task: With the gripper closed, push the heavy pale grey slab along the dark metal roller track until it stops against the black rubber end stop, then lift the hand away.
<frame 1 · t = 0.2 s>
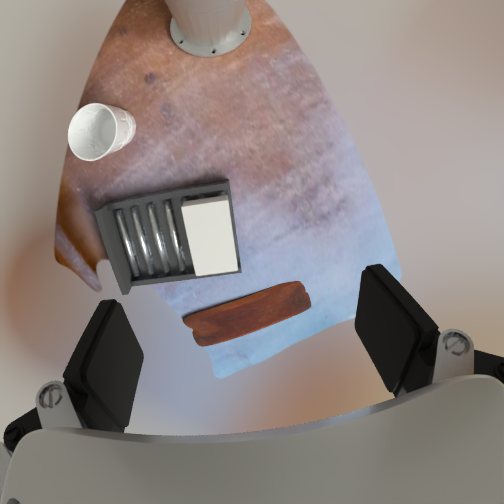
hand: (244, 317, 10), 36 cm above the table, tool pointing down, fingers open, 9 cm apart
white cup: (118, 128, 37), on the table
slab: (211, 236, 43), point 4 cm above the table, slide at 0.0 cm
wooden tablet: (247, 313, 57), on the table
roller track: (172, 234, 46), on the table
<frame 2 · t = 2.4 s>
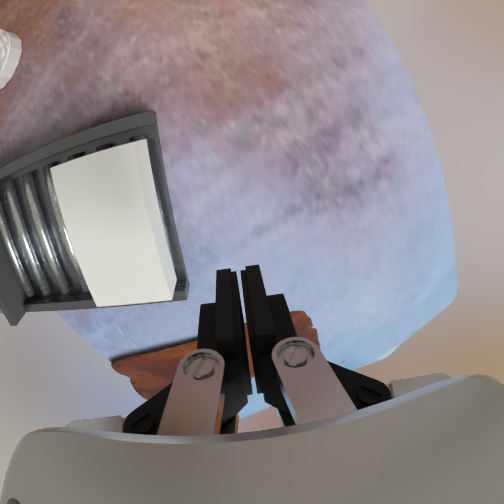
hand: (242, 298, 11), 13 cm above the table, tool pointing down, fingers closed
white cup: (3, 63, 12), on the table
slab: (114, 228, 19), point 4 cm above the table, slide at 0.0 cm
wooden tablet: (212, 360, 32), on the table
roller track: (67, 226, 22), on the table
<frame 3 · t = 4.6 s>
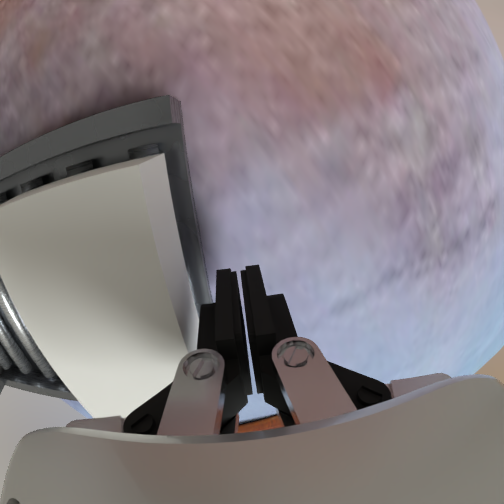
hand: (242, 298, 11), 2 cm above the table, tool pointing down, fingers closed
slab: (110, 325, 10), point 3 cm above the table, slide at 0.0 cm, touching gripper
wooden tablet: (246, 437, 23), on the table
roller track: (38, 290, 13), on the table
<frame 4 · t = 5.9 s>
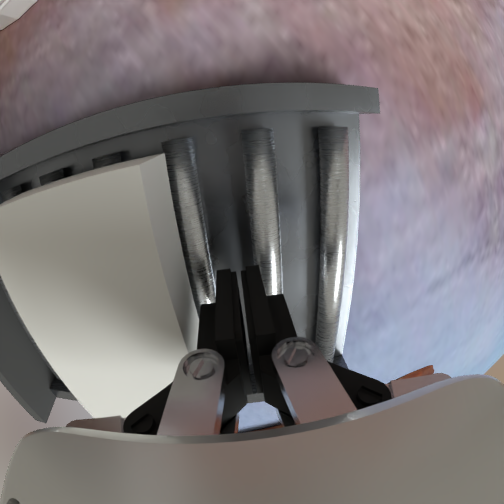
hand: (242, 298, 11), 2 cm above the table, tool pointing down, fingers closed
slab: (110, 325, 10), point 3 cm above the table, slide at 7.4 cm, touching gripper
roller track: (137, 280, 13), on the table
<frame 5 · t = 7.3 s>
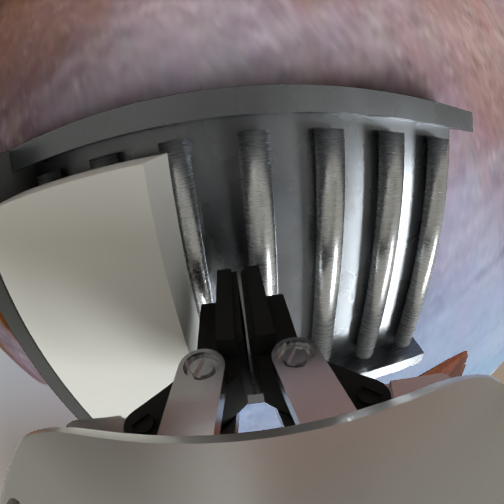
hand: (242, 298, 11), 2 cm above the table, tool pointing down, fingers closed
slab: (110, 324, 10), point 3 cm above the table, slide at 13.1 cm, touching gripper
wooden tablet: (366, 414, 23), on the table
roller track: (250, 268, 13), on the table
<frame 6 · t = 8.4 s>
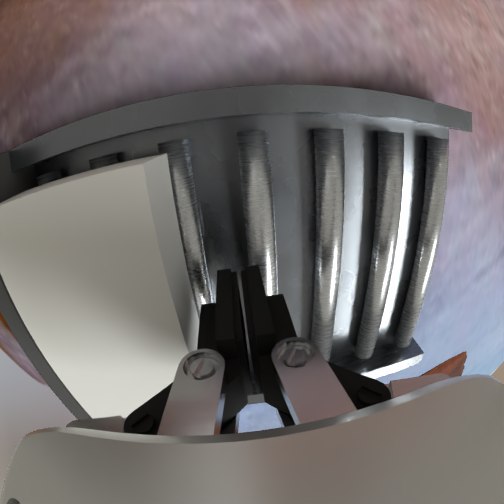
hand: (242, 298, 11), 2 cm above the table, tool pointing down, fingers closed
slab: (110, 325, 10), point 4 cm above the table, slide at 13.1 cm, touching gripper
wooden tablet: (365, 415, 24), on the table
roller track: (250, 268, 13), on the table
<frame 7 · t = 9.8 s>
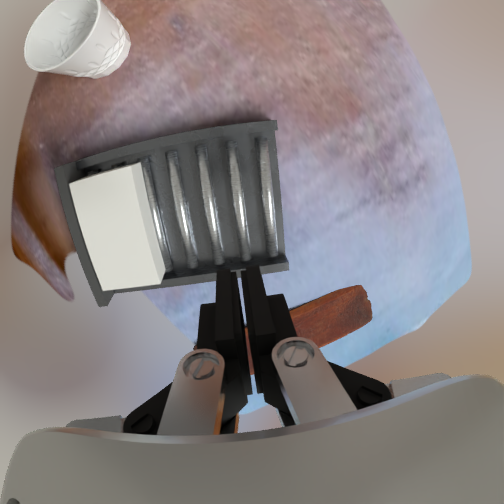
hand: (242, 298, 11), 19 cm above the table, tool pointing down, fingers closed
white cup: (104, 52, 20), on the table
slab: (117, 229, 25), point 4 cm above the table, slide at 13.0 cm
wooden tablet: (286, 334, 39), on the table
roller track: (178, 209, 29), on the table
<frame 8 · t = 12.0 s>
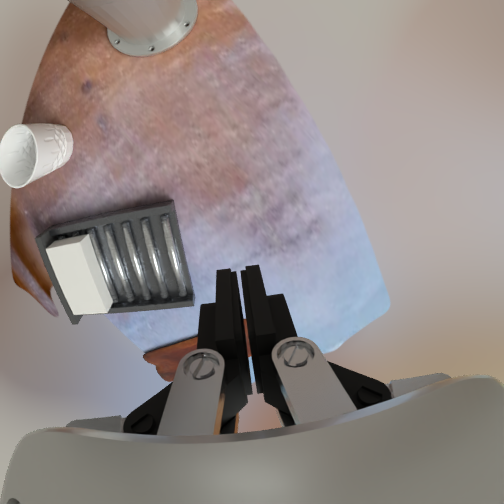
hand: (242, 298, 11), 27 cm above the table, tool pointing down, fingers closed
white cup: (57, 146, 30), on the table
slab: (79, 276, 36), point 3 cm above the table, slide at 13.0 cm
wooden tablet: (209, 349, 49), on the table
roller track: (118, 261, 39), on the table
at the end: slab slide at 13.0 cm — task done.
